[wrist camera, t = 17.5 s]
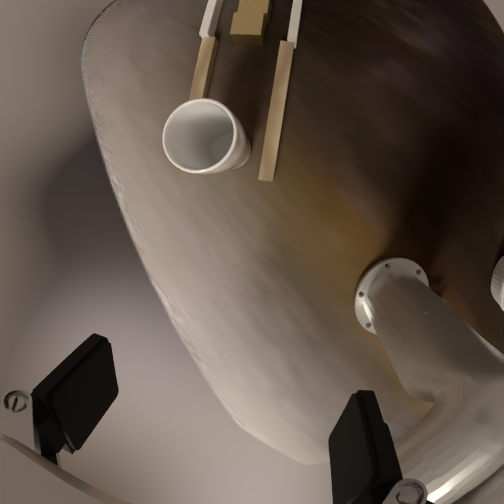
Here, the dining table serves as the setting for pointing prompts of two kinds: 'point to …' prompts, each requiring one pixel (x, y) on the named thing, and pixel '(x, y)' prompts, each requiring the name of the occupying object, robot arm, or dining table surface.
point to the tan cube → (256, 8)
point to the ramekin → (498, 283)
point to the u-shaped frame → (214, 12)
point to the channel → (277, 99)
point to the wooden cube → (248, 29)
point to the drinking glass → (205, 138)
